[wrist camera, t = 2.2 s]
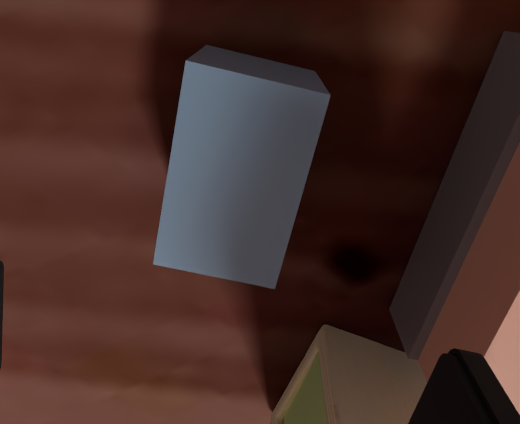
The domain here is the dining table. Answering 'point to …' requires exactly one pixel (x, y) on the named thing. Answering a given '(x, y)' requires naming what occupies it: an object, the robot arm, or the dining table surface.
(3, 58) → the dining table surface
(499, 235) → the pink and grey block
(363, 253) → the dining table surface
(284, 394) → the toy refrigerator
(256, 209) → the slate brick
